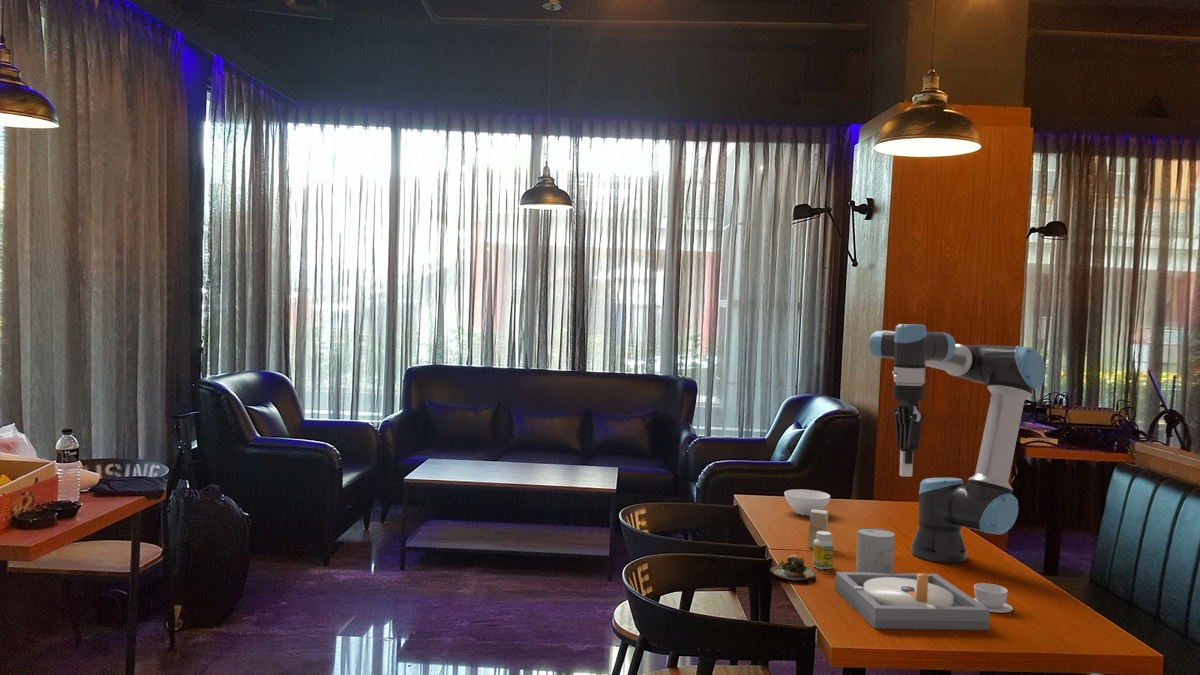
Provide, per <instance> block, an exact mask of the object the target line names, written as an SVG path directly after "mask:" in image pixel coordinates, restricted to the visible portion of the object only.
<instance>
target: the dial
mask: <svg viewBox="0 0 1200 675" xmlns="http://www.w3.org/2000/svg"><path fill="white" fill-rule="evenodd" d="M917 573H918V574H917V580H913V579H907V578H896V577H882V578H874V579H870V580H868V581H866V582H865V583H864V591H865V592H866V593H867V594H869V595H870V596H871V597H872V598H873V599H874V600H875V601H876V602H878V603H879V604H880V605H897V606H926V604H932V605H933V606H953V595H952V594H951V593H950V592H949V591H948V590H946V589H944V588H942V587H939V586H937V585H934V584H931V583H928V575H927V574H928V573H927V574H923V573H924V572H917Z"/></svg>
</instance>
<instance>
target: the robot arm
mask: <svg viewBox="0 0 1200 675" xmlns="http://www.w3.org/2000/svg"><path fill="white" fill-rule="evenodd" d="M868 341H869V342H868V348H869V352H870V353H871V355H872V356H873V357H876V358H881V359H892V360H894V363H893V371H892V372H891V374H892V375H893V383H895V384H894V385H893V386H892V387H893V388H892V398H893V399H894V400H898V402H897V408H893V410H892V413H893V418H894V428H895V429H894V430H895V431H894V432H895V445H896V447H898V449H899V452H900V453H899V476H900V477H913V466H914V465H913V464H914V452H915V451H918V449H919V442H920V435H921V430H922V423H923V420H924V417H925V415H924V414H923V413H920V410H919V409H920V407H919V401H924V399H925V386H924V384H925V383H926V367H929V368H933V369H937V370H941V371H945V372H946V373H947V374H949V375H951V376H953V377H957V378H960V379H965V380H968V381H969V382H974V383H978V384H984V385H987V388H986V389H987V390H988V391H989V392H990V394H991V395H990V396H991V397H990V400H989V405H988V410H987V413H986V414H987V415H986V419H985V420H986V421H985V424H984V430H983V435H982V440H981V443H980V444H981V445H980V449H979V455H978V459H977V464H976V468H975V473H974V475H972V476H971V477H968V479H967V483H966V485H964V480H963V479H962V478H957V477H929V478H924V479H922V480H921V482H920V483H919V492H918V495H919V497H918V499H919V500H918V524H917V525H918V526H917V529H916V532H915V535H914V536H913V540H912V542H911V545H910V546H911V547H910V548H911V549H910V553H911V555H913V556H915V557H917V558H919V559H923V560H926V561H930V562H935V563H936V562H937V563H944V564H945V563H946V564H956V563H957V564H958V563H963V562H966V560H967V548H966V546H965V543H964V538H963V536H962V531H961V530H962V527H963V528H966V529H971V530H974V531H978V532H982V533H985V534H993V535H1002V534H1005V533H1008V531H1009V530H1010V529H1012V527H1013V526H1014V524H1015V522H1016V520H1017V519H1018V518H1017V517H1018V514H1019V501H1018V498H1016V496H1015V495H1013V491H1014V490H1013V487H1012V486H1011V485H1010V483H1009V478H1010V474H1011V470H1012V466H1013V465H1012V463H1013V460H1014V454H1015V449H1016V443H1017V439H1018V435H1019V430H1020V424H1021V421H1022V414H1023V409H1024V405H1025V401H1026V400H1028V399H1029V398H1031V397H1032V396H1033V391H1034V390H1035V389H1038V388H1041V387H1042V385H1043V384H1044V381H1045V379H1046V367H1045V362H1044V359H1043V357H1042V355H1041V353H1040V352H1039V351H1038V350H1037V349H1036V348H1033V347H1032V346H1031V347H1029V346H1022V345H993V344H991V345H990V344H977V345H975V344H974V345H973V344H971V345H969V344H968V345H967V344H966V345H964V344H961V343H956V340H955V338H954V337H953V335H951V334H949V333H948V332H947V333H946V332H942V331H927V327H926V324H918V323H917V324H916V323H914V324H913V323H912V324H911V323H909V324H907V323H899V324H897V325H896V326H895V331H894V330H886V329H885V330H877V331H875V332H873V333H872V334H871V335H870V337H869V339H868Z"/></svg>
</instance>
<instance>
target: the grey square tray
mask: <svg viewBox="0 0 1200 675" xmlns="http://www.w3.org/2000/svg"><path fill="white" fill-rule="evenodd" d="M918 573H919V572H917V573H916V572H915V573H913V572H893V573H870V572H856V571H854V572H853V571H835V580H834V581H835V582H834V590H835V591H836V592H837V593H838V594H839V595H840V596H841V597H842V598H843V600H845V601H846V602H847V603H848V604H849V605H850V606H851V607H852V608H853V609H854V610H855V611H856V612H857V613H858V614H859V615H860V616H861V617H862V618H863V619H864V620H866V622H867V623H868V624H869V625H870V626H871V627H872V628H874V629H884V630H885V629H886V630H887V629H889V630H890V629H892V630H894V629H896V630H897V629H899V630H952V631H953V630H957V631H959V630H961V631H964V630H965V631H966V630H968V631H990V614H991V612H990V610H989V609H987V608H986V607H984V606H983V605H982V604H980V603H979V602H977V601H976V600H974V599H973V597H971V596H970V595H969V594H967V593H965V592H964V591H962V590H961V589H959V588H958V587H957V586H955V585H953V584H952V583H951V582H949V581H948V580H946V579H944V578H943V577H942V576H940V575H939V574H938V573H928V572H927V573H924V572H922V573H923V574H927V575H928V583H931V584H934V585H937V586H939V587H942V588H944V589H946V590H948V591H949V592H950V593H951V594H952V595H953V606H933V605H932V604H926V606H897V605H880V604H879V603H878V602H876V601H875V600H874V599H873V598H872V597H871V596H870V595H869V594H867V593H866V592H865V591H864V583H865V582H866V581H868V580H870V579H874V578H882V577H896V578H907V579H913V580H917V574H918Z"/></svg>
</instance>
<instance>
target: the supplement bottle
mask: <svg viewBox="0 0 1200 675" xmlns="http://www.w3.org/2000/svg"><path fill="white" fill-rule="evenodd" d="M816 537H817V539H815V540H814V545H813V548H812V549H813V552H812V553H813V554H812V565H813V567H814V568H815V567H816V569H819V570H823V569H827V570H831V569H833V566H834V564H833V563H834V542H833V540H831V539H832V533H831V532H829V531H827V532H826V531H818V532H816Z"/></svg>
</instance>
